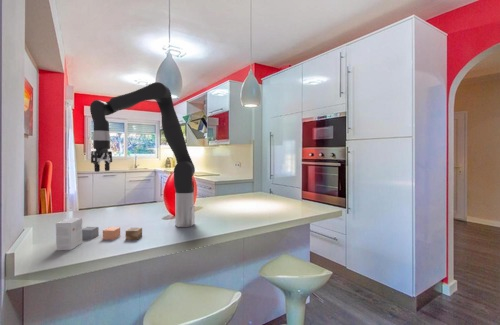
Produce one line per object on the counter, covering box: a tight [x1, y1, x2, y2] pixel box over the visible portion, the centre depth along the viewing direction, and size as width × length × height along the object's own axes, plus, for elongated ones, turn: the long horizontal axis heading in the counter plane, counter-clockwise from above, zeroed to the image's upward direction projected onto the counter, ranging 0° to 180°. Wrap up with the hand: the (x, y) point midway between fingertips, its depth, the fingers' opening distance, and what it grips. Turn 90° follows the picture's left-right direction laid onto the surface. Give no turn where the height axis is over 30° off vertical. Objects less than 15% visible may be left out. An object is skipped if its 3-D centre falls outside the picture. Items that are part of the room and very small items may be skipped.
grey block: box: [82, 226, 100, 240], centre depth 115 cm, size 5×5×4 cm
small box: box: [55, 217, 83, 251], centre depth 103 cm, size 8×6×10 cm
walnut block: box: [125, 227, 143, 241], centre depth 114 cm, size 5×5×4 cm
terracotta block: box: [102, 226, 121, 240], centre depth 115 cm, size 5×5×4 cm
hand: (102, 171), depth 135 cm, fingers open, 8 cm apart
